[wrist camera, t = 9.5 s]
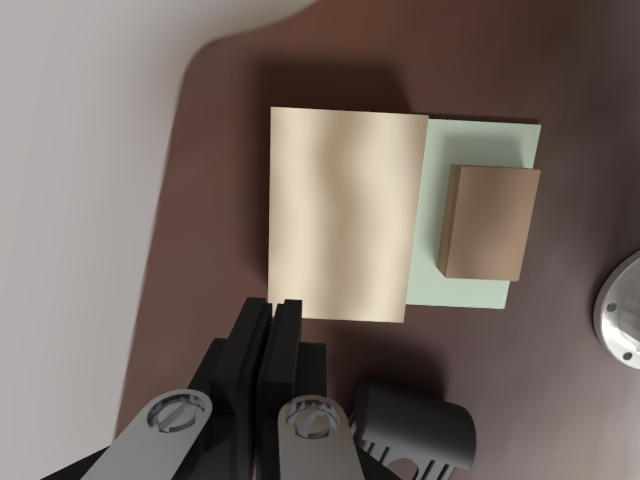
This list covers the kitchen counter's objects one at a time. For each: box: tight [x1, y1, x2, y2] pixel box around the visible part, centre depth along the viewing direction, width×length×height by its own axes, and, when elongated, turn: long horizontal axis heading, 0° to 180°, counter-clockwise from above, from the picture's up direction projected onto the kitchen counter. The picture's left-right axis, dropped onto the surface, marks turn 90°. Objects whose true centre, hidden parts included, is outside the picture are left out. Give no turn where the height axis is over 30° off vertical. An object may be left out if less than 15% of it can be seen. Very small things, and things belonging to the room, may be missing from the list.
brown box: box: [437, 164, 541, 281], centre depth 30 cm, size 6×9×2 cm, turn 177°
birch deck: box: [268, 107, 429, 323], centre depth 30 cm, size 11×16×4 cm
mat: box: [406, 119, 541, 309], centre depth 31 cm, size 10×16×1 cm, turn 177°
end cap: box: [345, 377, 476, 480], centre depth 33 cm, size 10×7×7 cm
